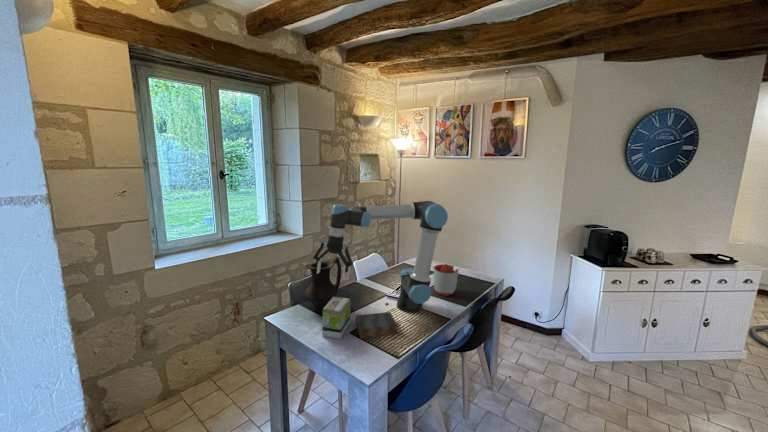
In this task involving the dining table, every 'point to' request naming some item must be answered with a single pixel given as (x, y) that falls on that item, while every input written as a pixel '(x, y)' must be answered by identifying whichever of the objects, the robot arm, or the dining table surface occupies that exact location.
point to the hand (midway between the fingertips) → (330, 275)
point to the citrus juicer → (445, 279)
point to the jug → (322, 284)
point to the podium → (376, 325)
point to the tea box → (336, 317)
